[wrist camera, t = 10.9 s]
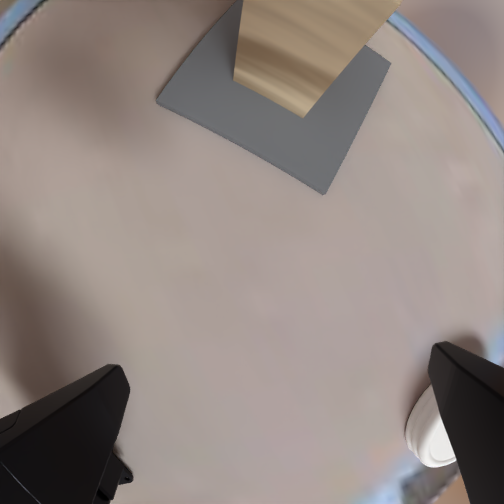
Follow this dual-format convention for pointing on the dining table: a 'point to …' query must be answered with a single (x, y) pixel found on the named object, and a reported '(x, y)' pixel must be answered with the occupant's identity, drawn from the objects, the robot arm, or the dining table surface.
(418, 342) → the dining table surface
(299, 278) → the dining table surface
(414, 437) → the white short cylinder
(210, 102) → the charcoal mat
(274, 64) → the beech block
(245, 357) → the dining table surface
